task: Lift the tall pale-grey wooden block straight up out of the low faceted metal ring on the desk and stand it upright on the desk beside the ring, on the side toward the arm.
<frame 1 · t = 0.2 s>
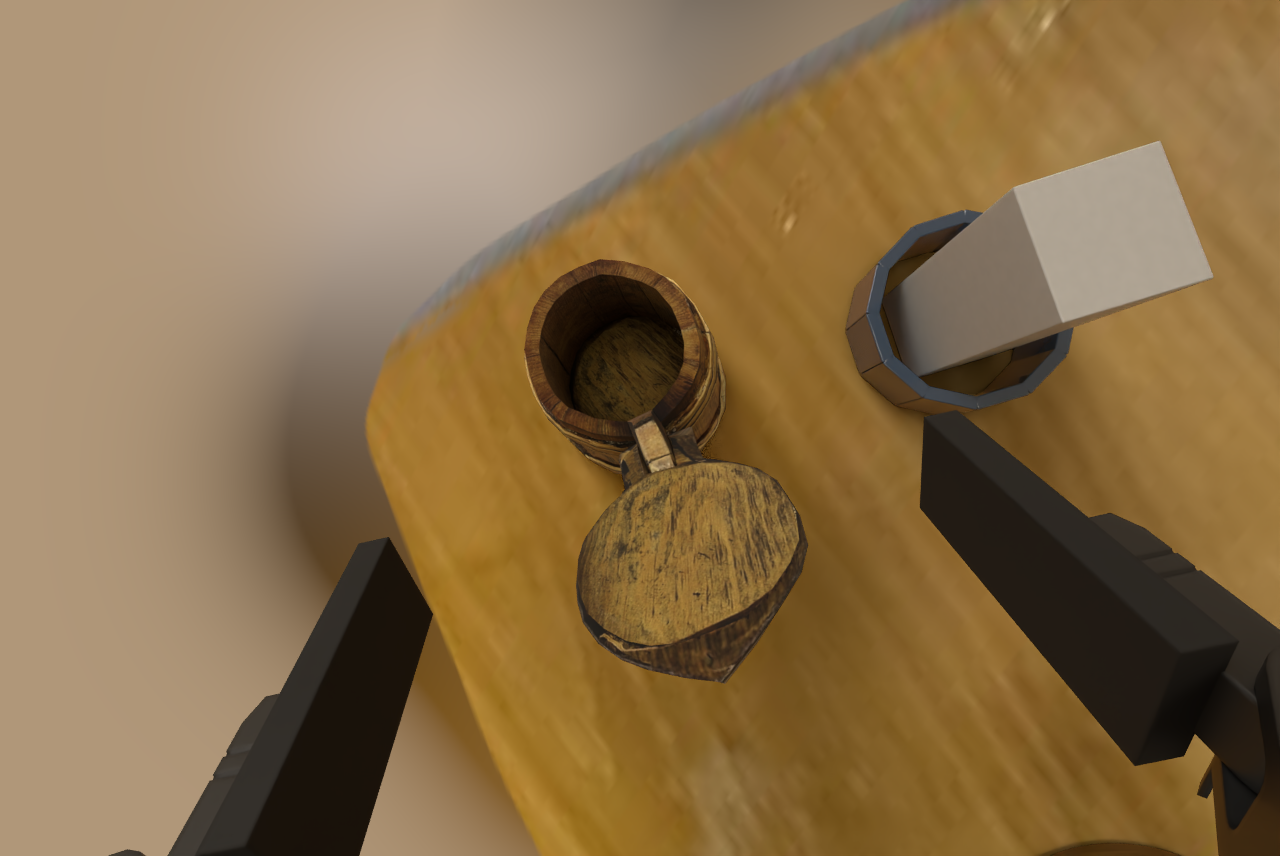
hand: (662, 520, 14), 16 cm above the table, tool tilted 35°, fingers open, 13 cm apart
grey block: (1001, 291, 23), in the faceted metal ring
faceted metal ring: (937, 326, 29), on the table
wooden mug: (654, 429, 30), on the table
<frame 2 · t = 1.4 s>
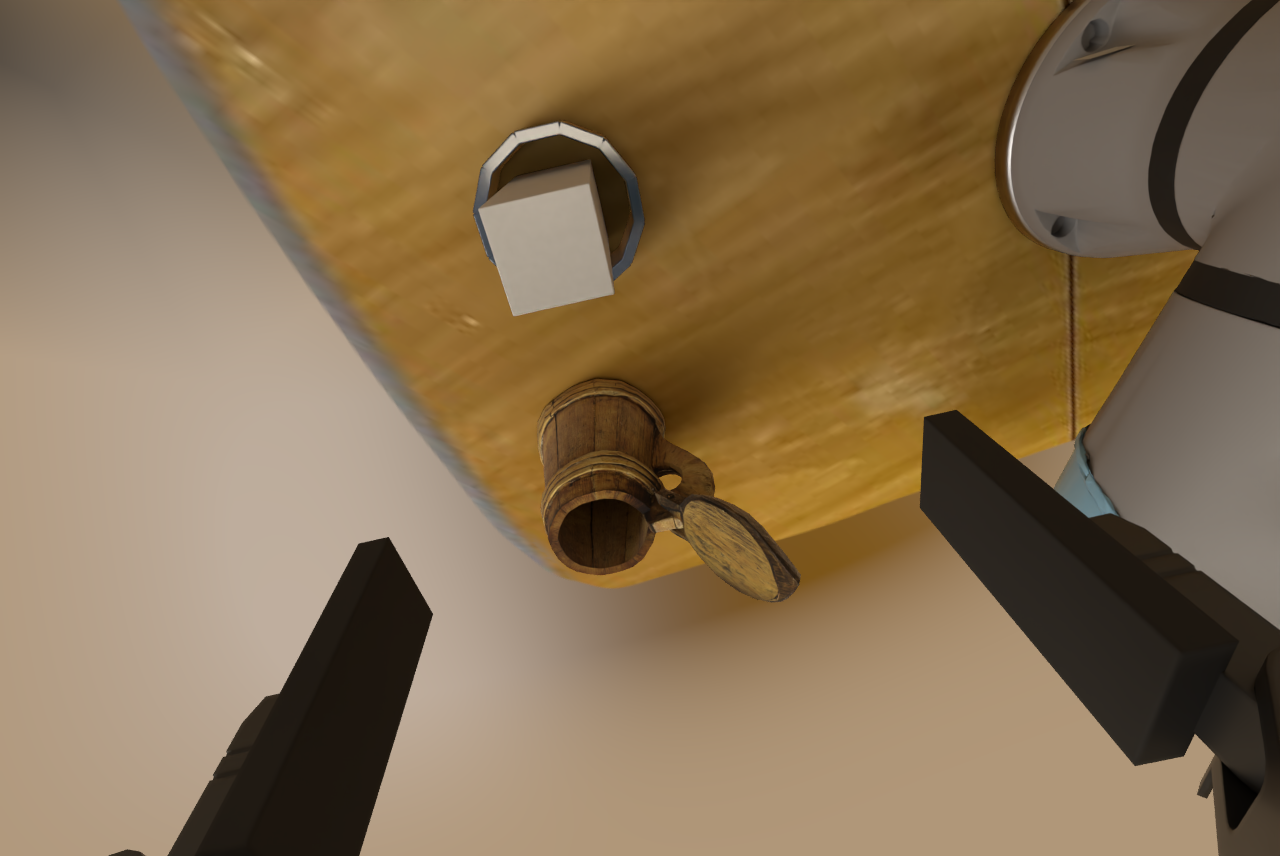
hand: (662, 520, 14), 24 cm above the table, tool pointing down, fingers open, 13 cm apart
grey block: (557, 226, 28), in the faceted metal ring
faceted metal ring: (563, 208, 33), on the table
wooden mug: (630, 424, 41), on the table
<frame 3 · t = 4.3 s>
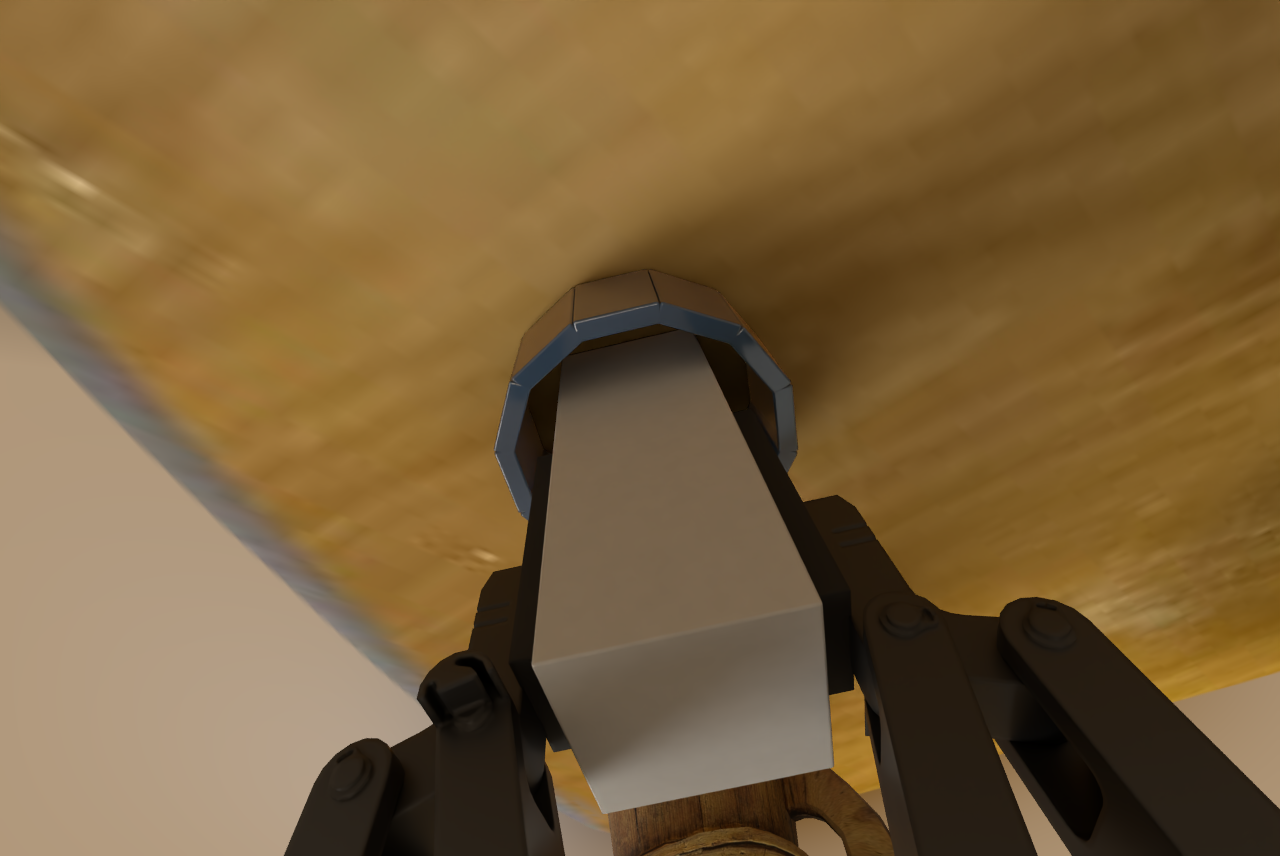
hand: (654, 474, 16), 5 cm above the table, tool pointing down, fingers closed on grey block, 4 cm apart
grey block: (659, 503, 15), in the faceted metal ring, touching gripper
faceted metal ring: (640, 399, 20), on the table
wooden mug: (721, 666, 27), on the table
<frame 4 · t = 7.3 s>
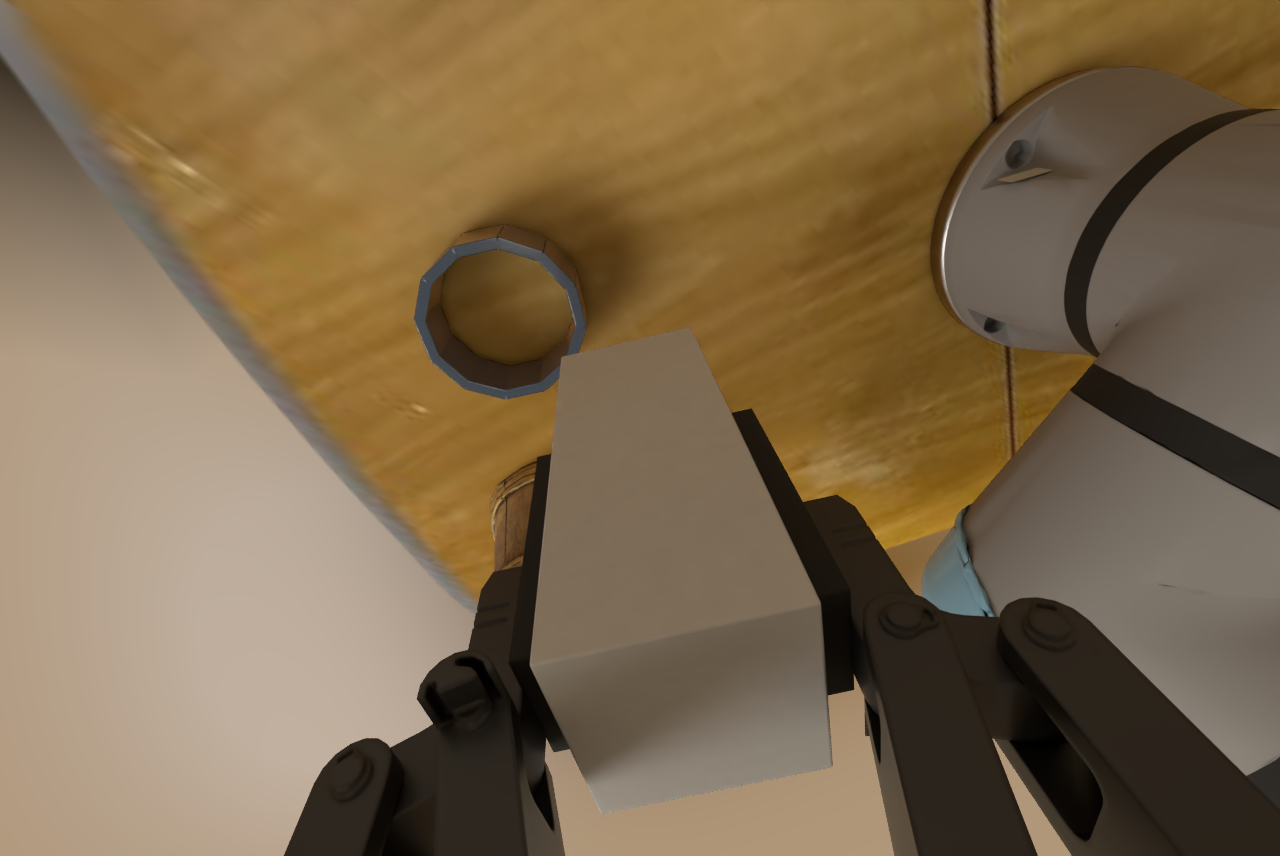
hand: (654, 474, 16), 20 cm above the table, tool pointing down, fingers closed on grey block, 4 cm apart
grey block: (658, 503, 15), point 22 cm above the table, touching gripper
faceted metal ring: (508, 304, 33), on the table
wooden mug: (583, 500, 41), on the table
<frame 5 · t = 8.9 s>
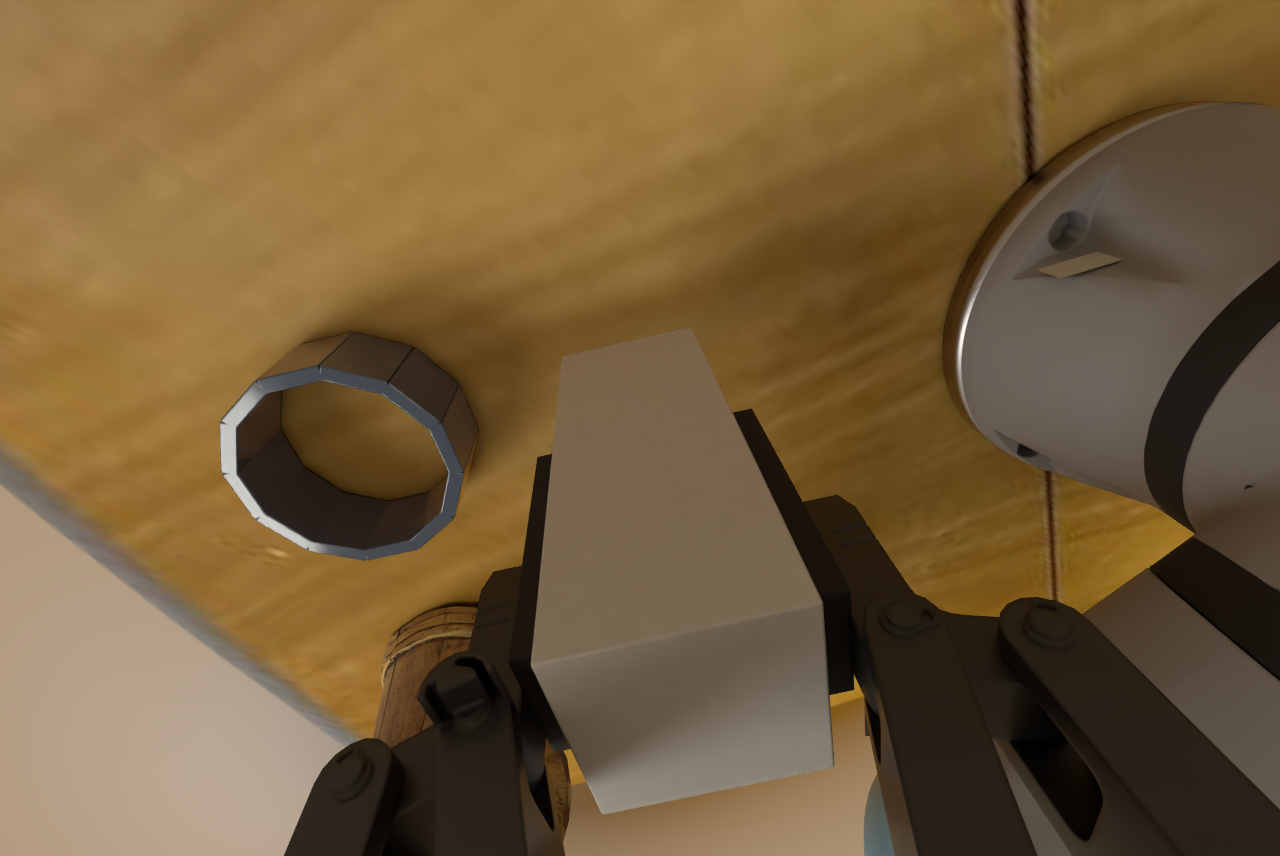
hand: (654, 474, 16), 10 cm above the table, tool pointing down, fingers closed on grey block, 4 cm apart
grey block: (659, 502, 15), point 11 cm above the table, touching gripper
faceted metal ring: (374, 429, 25), on the table
wooden mug: (504, 646, 33), on the table
when the fingers open (5 cm above the table, at t = 10.5 s): grey block stays where it is, on the table.
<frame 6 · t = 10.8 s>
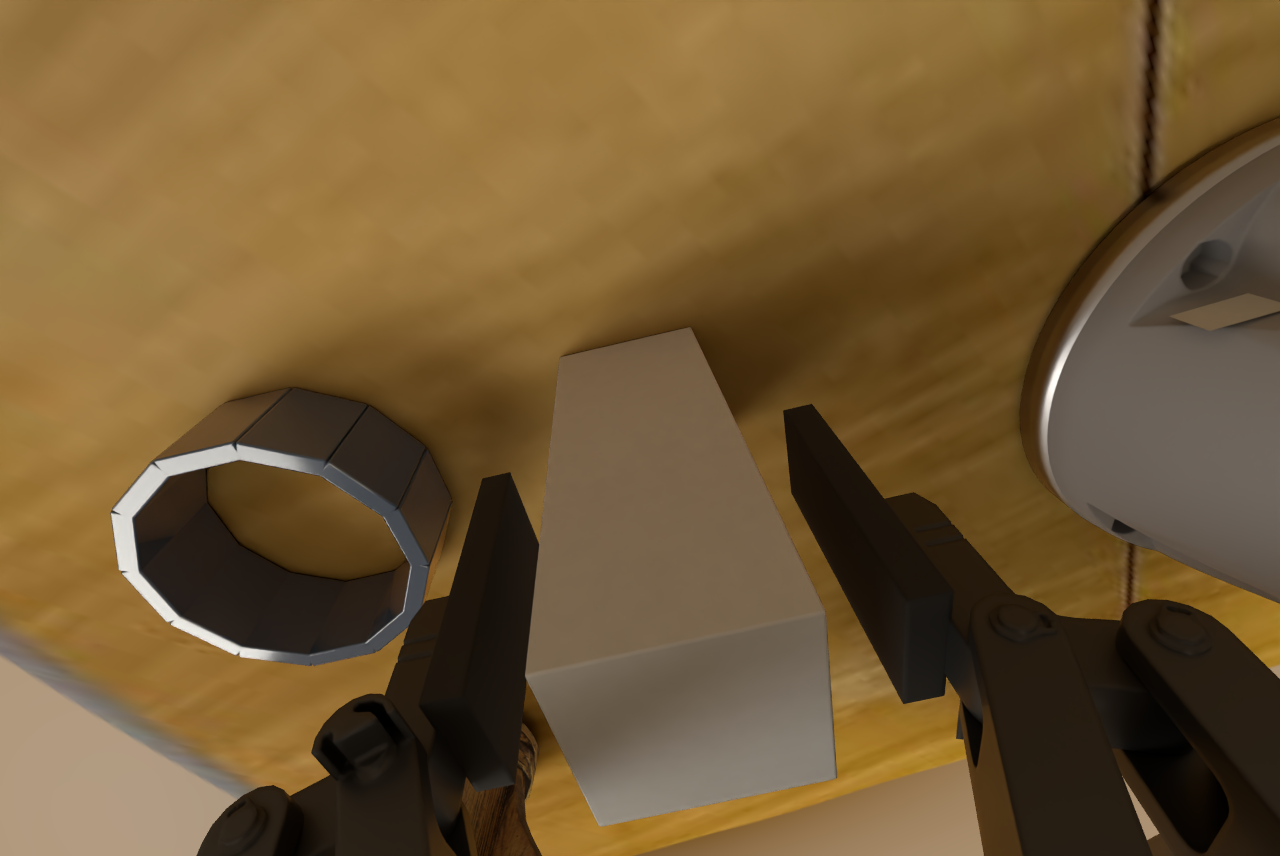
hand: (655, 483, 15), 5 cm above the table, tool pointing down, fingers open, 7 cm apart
grey block: (657, 506, 14), on the table
faceted metal ring: (323, 500, 20), on the table
wooden mug: (489, 733, 28), on the table
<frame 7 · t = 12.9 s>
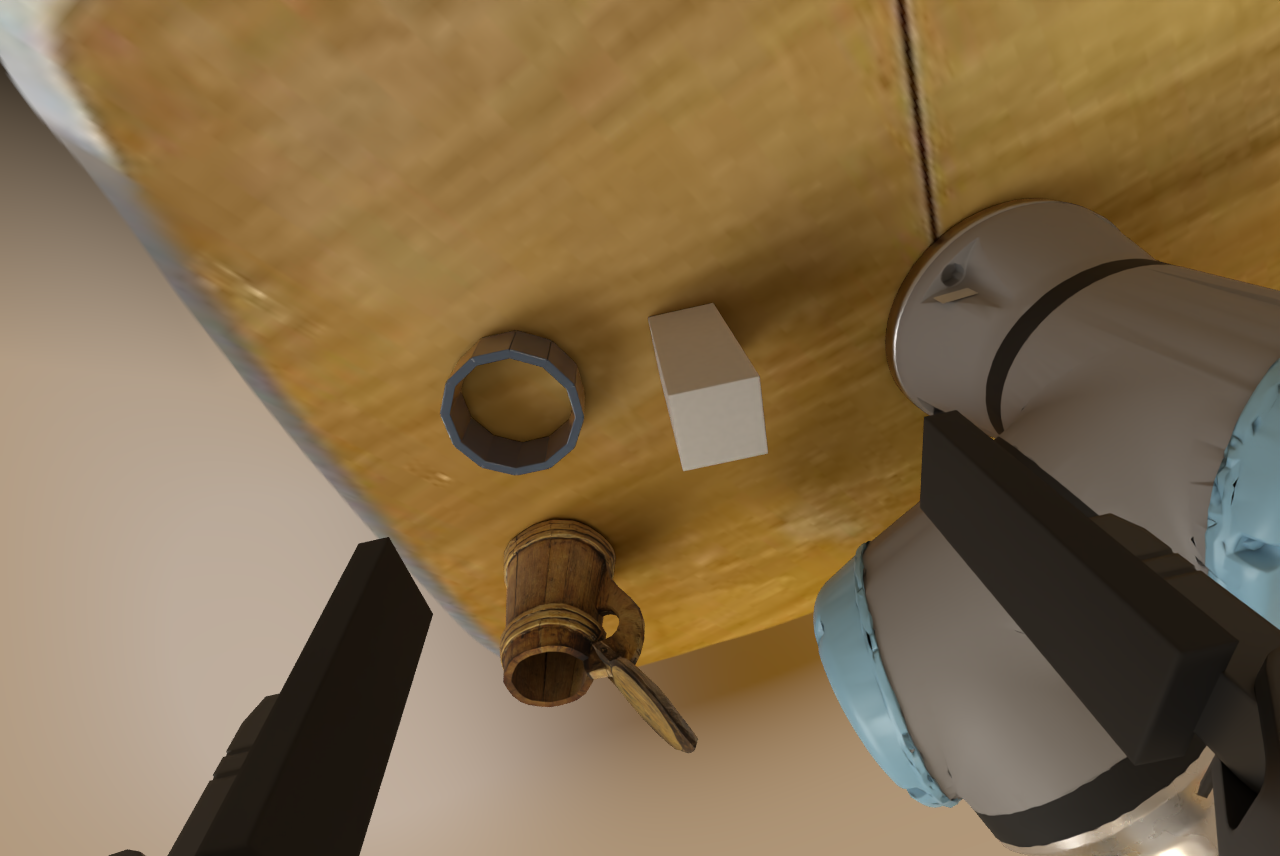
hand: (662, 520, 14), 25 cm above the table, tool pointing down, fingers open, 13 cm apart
grey block: (700, 376, 33), on the table
faceted metal ring: (519, 392, 39), on the table
wooden mug: (585, 552, 47), on the table
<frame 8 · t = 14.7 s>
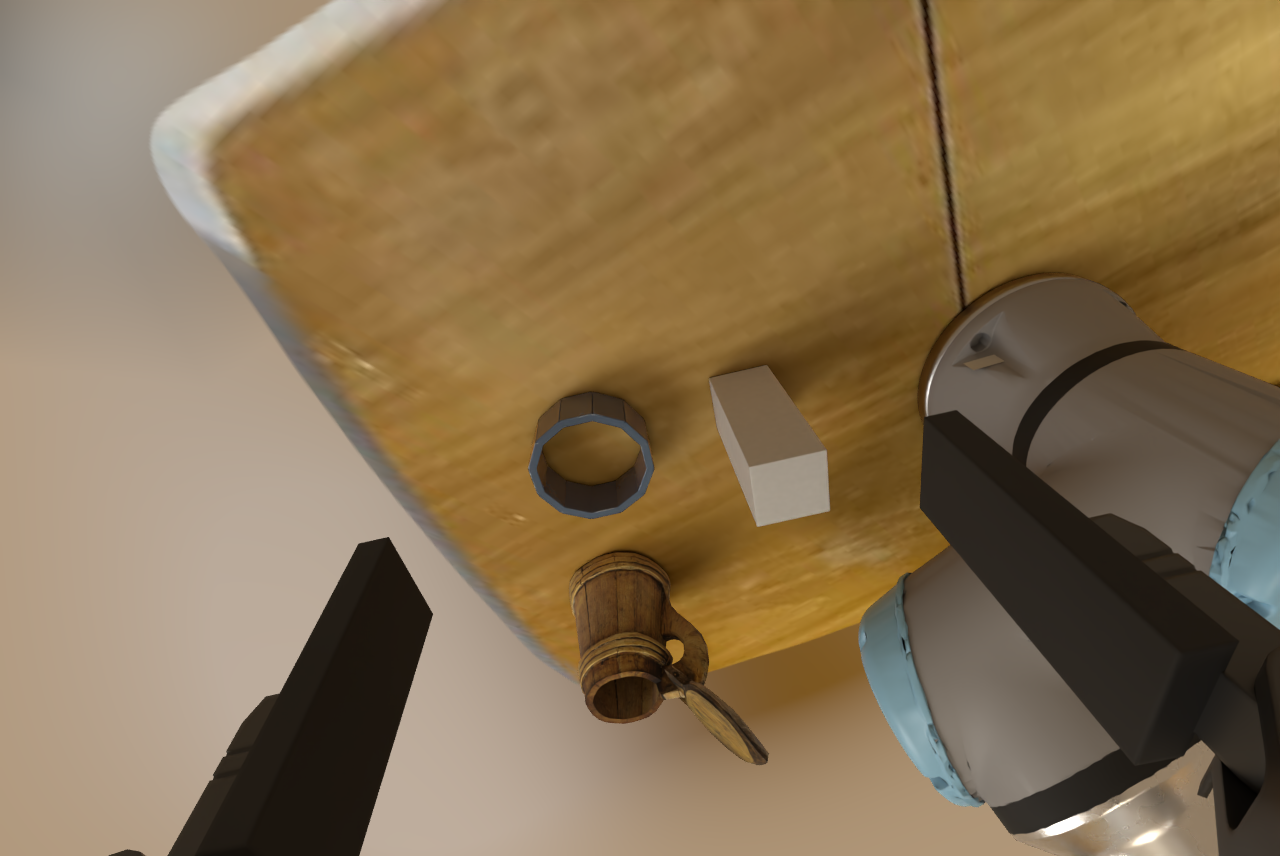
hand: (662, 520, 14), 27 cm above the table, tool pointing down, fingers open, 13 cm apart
grey block: (762, 437, 38), on the table
faceted metal ring: (591, 444, 44), on the table
wooden mug: (642, 580, 51), on the table
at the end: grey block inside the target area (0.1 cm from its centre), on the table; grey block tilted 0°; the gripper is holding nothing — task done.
